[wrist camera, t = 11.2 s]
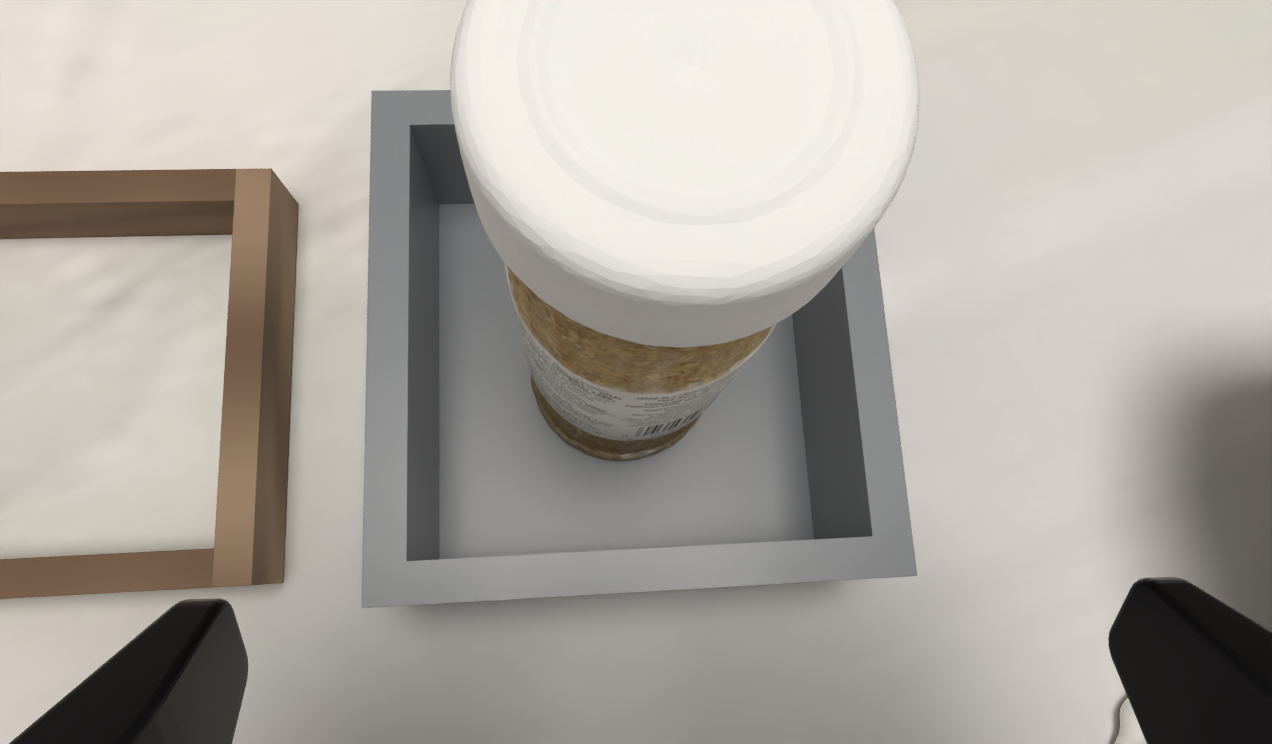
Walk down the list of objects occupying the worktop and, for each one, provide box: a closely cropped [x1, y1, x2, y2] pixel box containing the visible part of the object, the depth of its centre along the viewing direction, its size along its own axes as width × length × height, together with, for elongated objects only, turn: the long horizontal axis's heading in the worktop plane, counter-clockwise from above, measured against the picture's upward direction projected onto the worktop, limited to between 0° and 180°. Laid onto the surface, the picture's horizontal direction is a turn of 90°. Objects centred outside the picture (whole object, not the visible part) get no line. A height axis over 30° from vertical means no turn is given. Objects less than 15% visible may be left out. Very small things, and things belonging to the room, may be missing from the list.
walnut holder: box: [0, 169, 298, 599], centre depth 19 cm, size 10×10×2 cm
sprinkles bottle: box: [450, 0, 920, 461], centre depth 14 cm, size 5×5×13 cm
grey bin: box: [362, 90, 917, 608], centre depth 19 cm, size 11×11×4 cm
